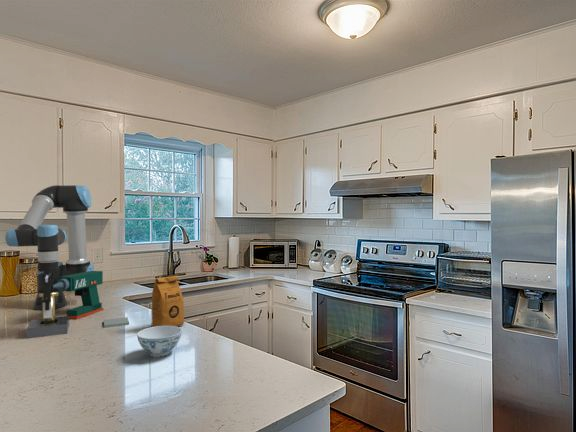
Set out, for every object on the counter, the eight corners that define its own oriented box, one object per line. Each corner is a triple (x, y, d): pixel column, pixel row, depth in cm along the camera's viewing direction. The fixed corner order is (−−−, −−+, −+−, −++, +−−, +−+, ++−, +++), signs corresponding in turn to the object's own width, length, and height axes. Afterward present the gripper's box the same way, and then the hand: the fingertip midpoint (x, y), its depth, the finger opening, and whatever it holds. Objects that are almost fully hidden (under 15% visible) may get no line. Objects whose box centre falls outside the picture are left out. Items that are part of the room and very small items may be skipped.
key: (40, 331, 167) (39, 292, 167) (59, 328, 170) (58, 291, 170) (38, 333, 163) (38, 294, 163) (58, 331, 166) (57, 292, 166)
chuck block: (31, 329, 170) (31, 319, 170) (69, 324, 176) (69, 315, 176) (26, 338, 157) (26, 328, 157) (67, 333, 164) (67, 323, 164)
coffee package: (187, 326, 172) (186, 276, 172) (160, 332, 164) (159, 279, 164) (175, 322, 180) (175, 273, 179) (149, 327, 171) (148, 277, 171)
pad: (103, 322, 180) (103, 319, 180) (127, 319, 185) (127, 317, 185) (104, 327, 172) (104, 325, 172) (129, 324, 176) (129, 322, 176)
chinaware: (140, 364, 129) (140, 341, 129) (134, 350, 143) (134, 329, 143) (186, 356, 136) (186, 334, 136) (177, 343, 150) (176, 323, 149)
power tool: (55, 326, 172) (54, 280, 172) (41, 325, 173) (41, 280, 174) (104, 309, 203) (104, 270, 203) (92, 309, 205) (92, 270, 205)
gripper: (40, 259, 174) (41, 311, 174) (34, 264, 155) (34, 322, 156) (60, 258, 177) (60, 309, 178) (56, 263, 159) (56, 320, 159)
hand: (48, 315), depth 167 cm, fingers open, 8 cm apart
